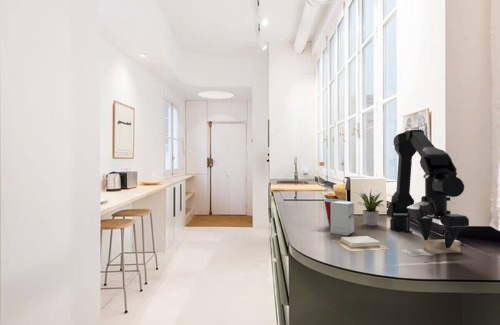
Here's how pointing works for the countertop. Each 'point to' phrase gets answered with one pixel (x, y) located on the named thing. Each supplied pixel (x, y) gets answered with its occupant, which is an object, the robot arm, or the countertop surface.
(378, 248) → the board
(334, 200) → the plastic cup
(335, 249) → the countertop surface
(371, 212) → the house plant
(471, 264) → the countertop surface
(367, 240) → the tile
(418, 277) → the countertop surface
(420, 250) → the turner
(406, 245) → the countertop surface
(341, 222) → the supplement box
